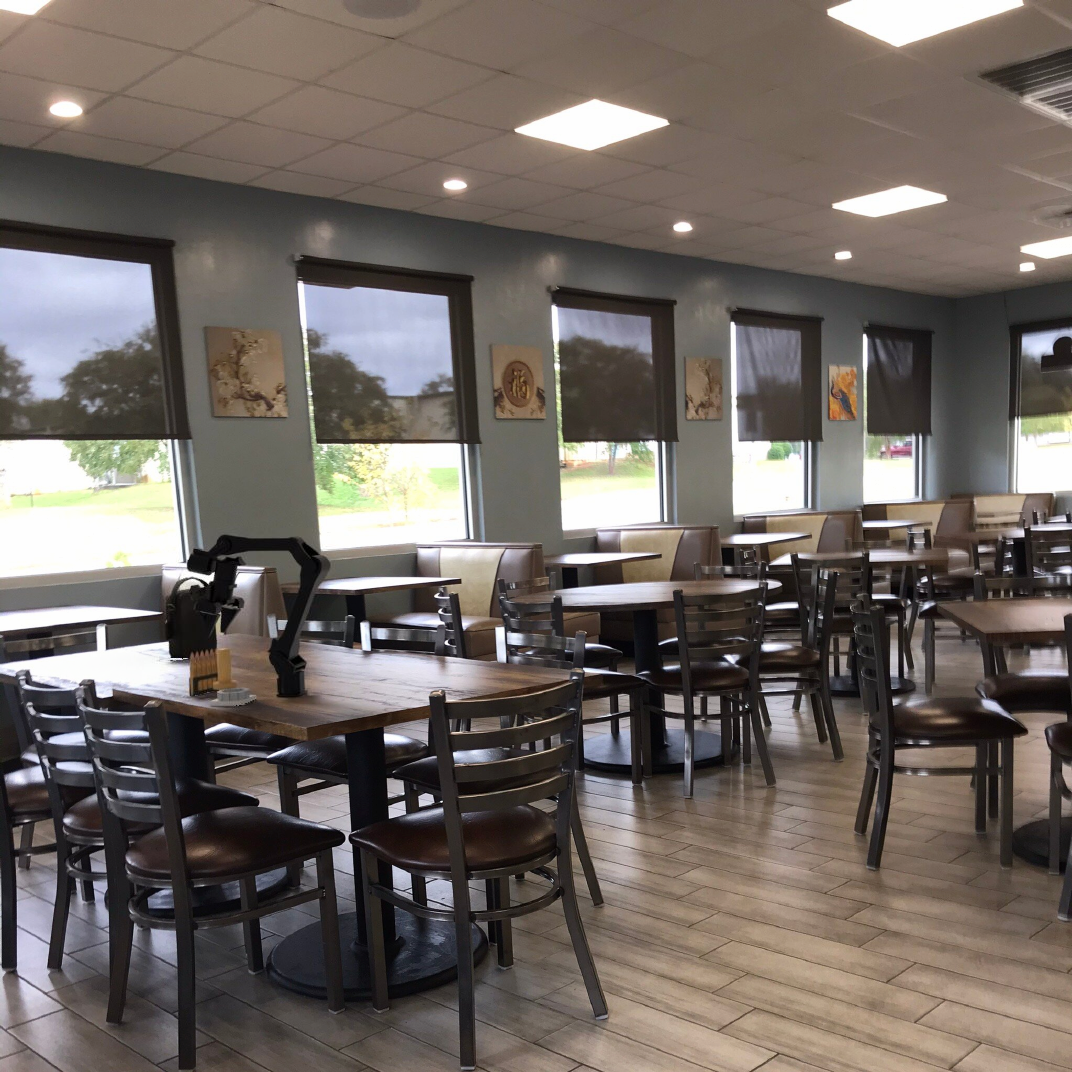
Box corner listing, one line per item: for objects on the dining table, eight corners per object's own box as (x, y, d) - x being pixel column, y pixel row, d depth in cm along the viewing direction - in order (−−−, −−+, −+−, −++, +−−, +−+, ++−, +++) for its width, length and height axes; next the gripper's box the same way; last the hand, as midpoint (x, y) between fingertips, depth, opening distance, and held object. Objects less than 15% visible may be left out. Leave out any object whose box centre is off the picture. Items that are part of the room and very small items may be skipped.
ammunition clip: (193, 696, 285) (191, 653, 285) (189, 696, 286) (187, 652, 285) (223, 689, 294) (221, 647, 294) (218, 689, 295) (216, 647, 295)
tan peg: (242, 694, 285) (240, 647, 284) (230, 699, 279) (228, 650, 278) (220, 694, 286) (218, 647, 286) (209, 699, 280) (206, 651, 279)
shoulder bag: (175, 661, 353) (171, 579, 352) (157, 660, 358) (153, 579, 357) (225, 652, 373) (221, 574, 372) (207, 651, 377) (203, 574, 376)
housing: (256, 699, 277) (255, 687, 277) (241, 705, 268) (240, 693, 268) (226, 699, 278) (226, 687, 278) (210, 705, 270) (209, 693, 270)
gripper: (212, 571, 294) (203, 625, 295) (180, 575, 276) (170, 632, 276) (249, 579, 293) (239, 633, 293) (219, 583, 274) (209, 641, 275)
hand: (214, 634), depth 285 cm, fingers open, 9 cm apart
